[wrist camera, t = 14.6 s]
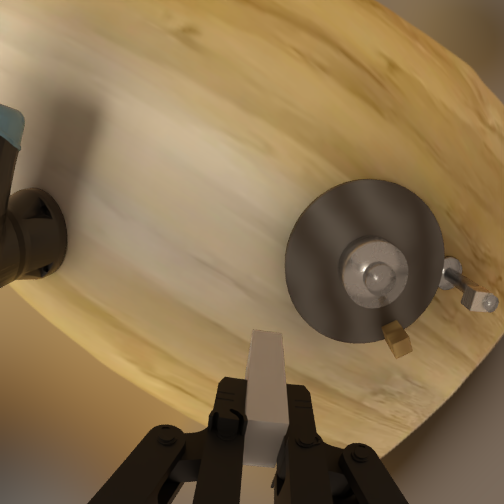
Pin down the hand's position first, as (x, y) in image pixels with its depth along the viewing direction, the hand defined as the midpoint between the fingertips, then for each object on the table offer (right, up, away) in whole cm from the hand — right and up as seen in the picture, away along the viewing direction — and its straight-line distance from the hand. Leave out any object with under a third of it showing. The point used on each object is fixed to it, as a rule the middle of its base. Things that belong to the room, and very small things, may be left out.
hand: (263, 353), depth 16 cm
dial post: (+29, +2, +25) cm, 38 cm away
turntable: (+15, +4, +25) cm, 29 cm away
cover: (+14, +3, +23) cm, 27 cm away
